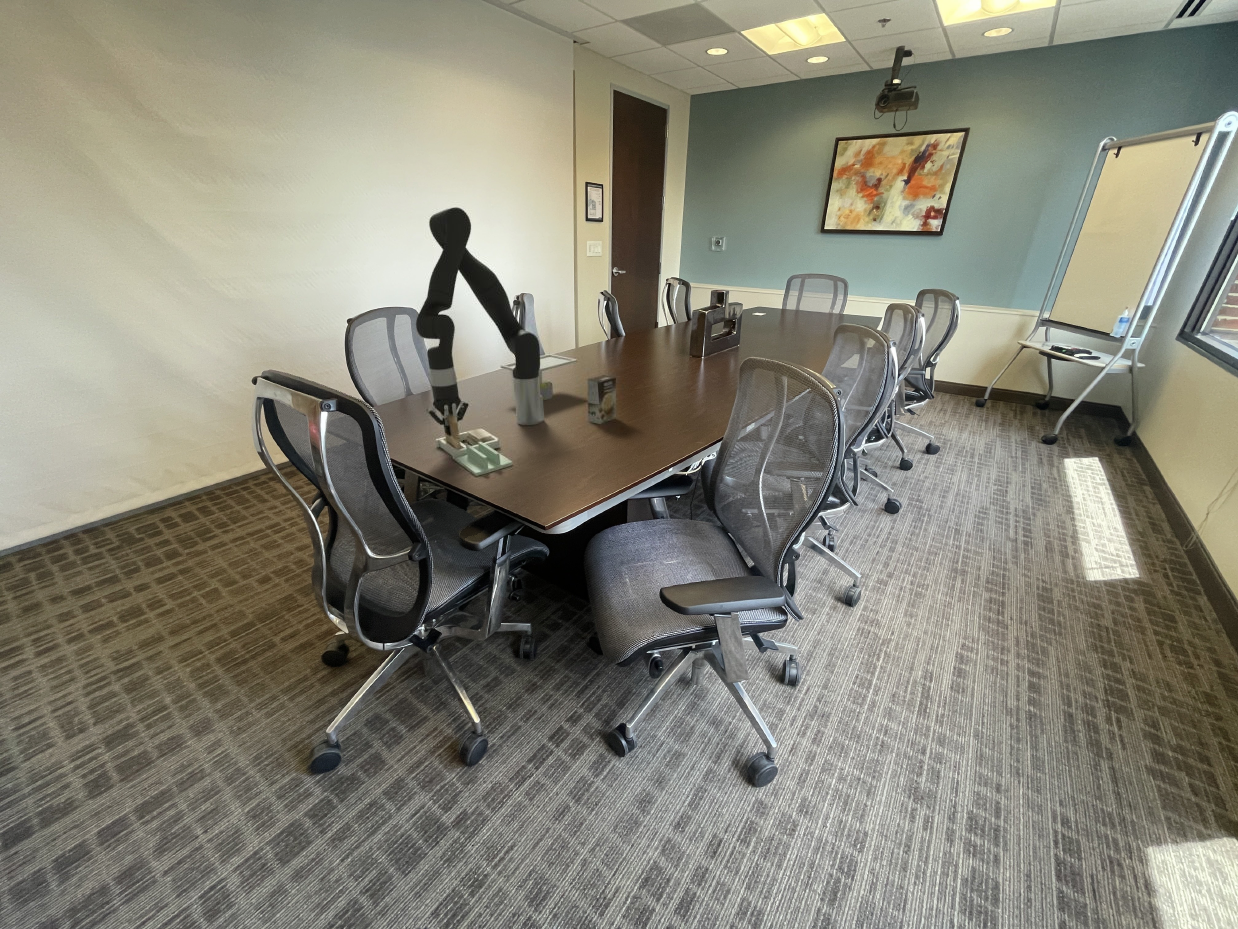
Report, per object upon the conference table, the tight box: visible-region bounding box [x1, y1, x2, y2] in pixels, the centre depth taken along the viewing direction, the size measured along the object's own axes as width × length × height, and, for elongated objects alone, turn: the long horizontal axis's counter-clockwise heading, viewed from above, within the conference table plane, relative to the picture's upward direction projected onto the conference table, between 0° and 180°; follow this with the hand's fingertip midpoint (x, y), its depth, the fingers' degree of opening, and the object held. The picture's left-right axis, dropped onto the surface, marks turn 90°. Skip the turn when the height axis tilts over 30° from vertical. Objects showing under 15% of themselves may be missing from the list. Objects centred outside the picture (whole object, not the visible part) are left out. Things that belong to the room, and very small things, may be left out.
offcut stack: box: [466, 428, 492, 446], centre depth 166 cm, size 5×9×4 cm, turn 40°
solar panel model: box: [500, 353, 578, 401], centre depth 211 cm, size 28×17×15 cm, turn 141°
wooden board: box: [443, 414, 461, 450], centre depth 159 cm, size 2×8×12 cm, turn 40°
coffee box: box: [587, 374, 617, 425], centre depth 185 cm, size 9×6×16 cm
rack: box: [435, 428, 500, 461], centre depth 164 cm, size 16×14×2 cm
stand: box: [455, 442, 514, 477], centre depth 152 cm, size 12×14×4 cm
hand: (451, 434), depth 159 cm, fingers closed on wooden board, 1 cm apart
